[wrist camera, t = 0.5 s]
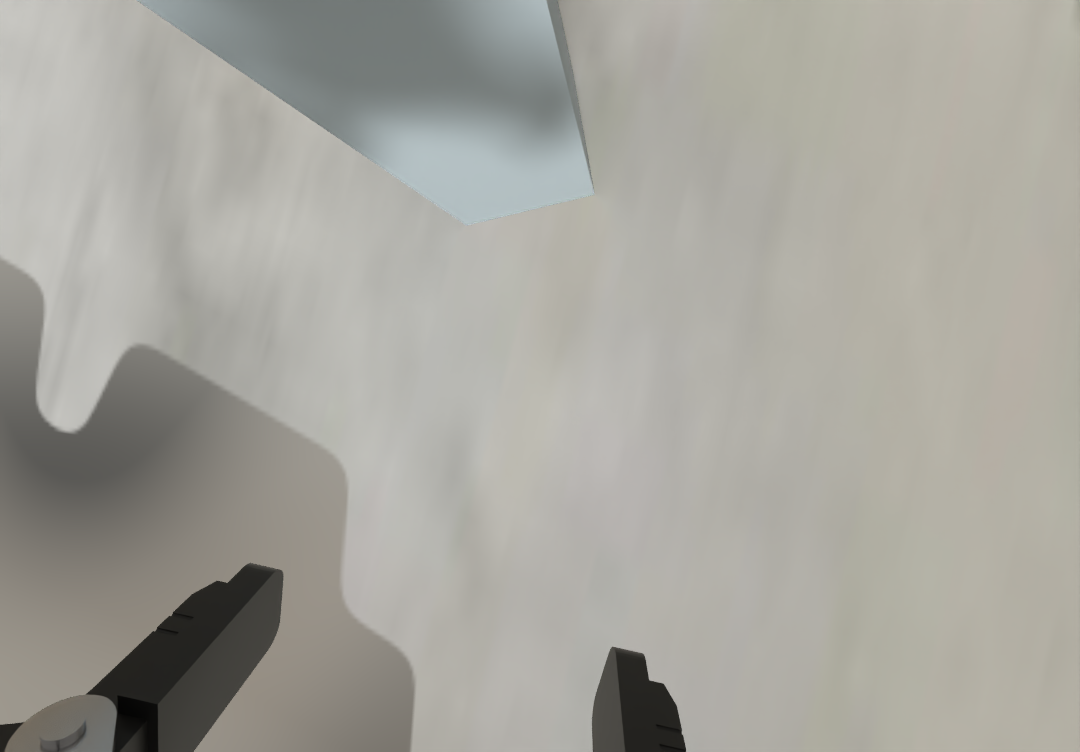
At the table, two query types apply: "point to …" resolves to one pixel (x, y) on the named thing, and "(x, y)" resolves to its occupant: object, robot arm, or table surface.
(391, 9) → the slate pedestal
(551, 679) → the table surface
